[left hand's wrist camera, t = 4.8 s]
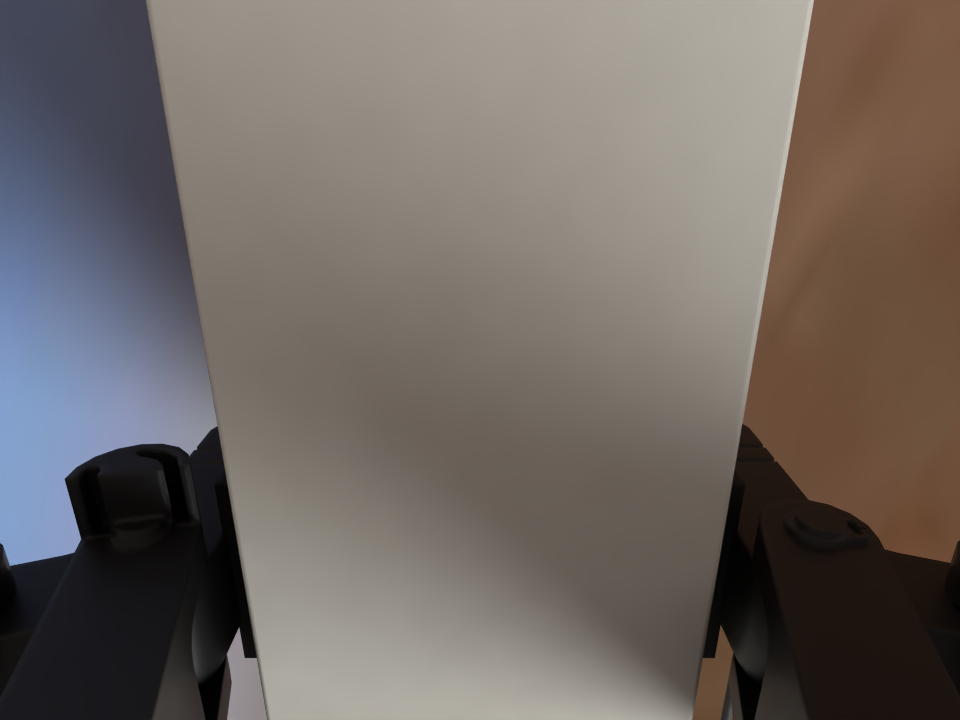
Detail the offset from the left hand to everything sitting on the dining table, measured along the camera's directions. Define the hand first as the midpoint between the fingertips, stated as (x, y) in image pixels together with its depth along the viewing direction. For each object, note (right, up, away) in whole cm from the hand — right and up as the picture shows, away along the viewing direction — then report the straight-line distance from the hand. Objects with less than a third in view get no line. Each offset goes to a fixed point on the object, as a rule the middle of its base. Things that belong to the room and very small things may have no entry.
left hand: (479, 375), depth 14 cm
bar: (0, +8, -2) cm, 8 cm away
